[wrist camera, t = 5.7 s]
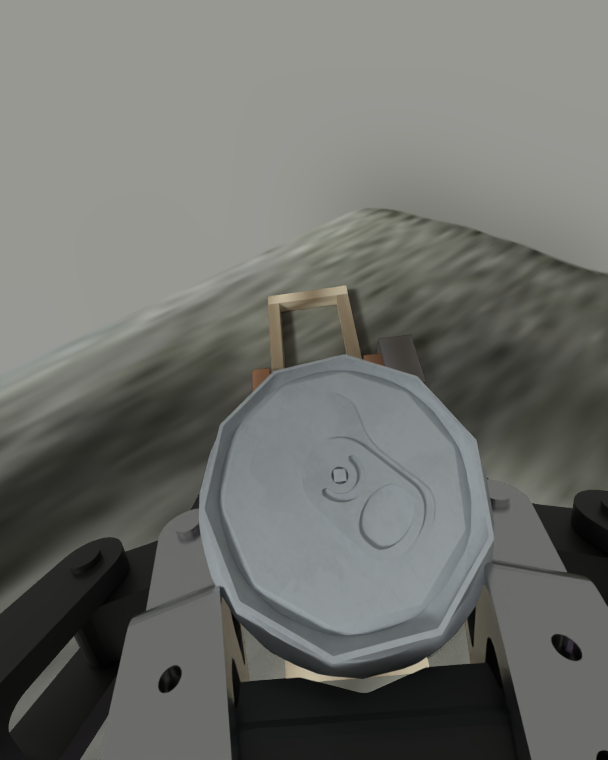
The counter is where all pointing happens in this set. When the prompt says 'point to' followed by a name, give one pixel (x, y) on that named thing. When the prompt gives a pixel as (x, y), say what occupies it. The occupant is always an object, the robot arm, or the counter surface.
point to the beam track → (388, 354)
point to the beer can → (346, 517)
